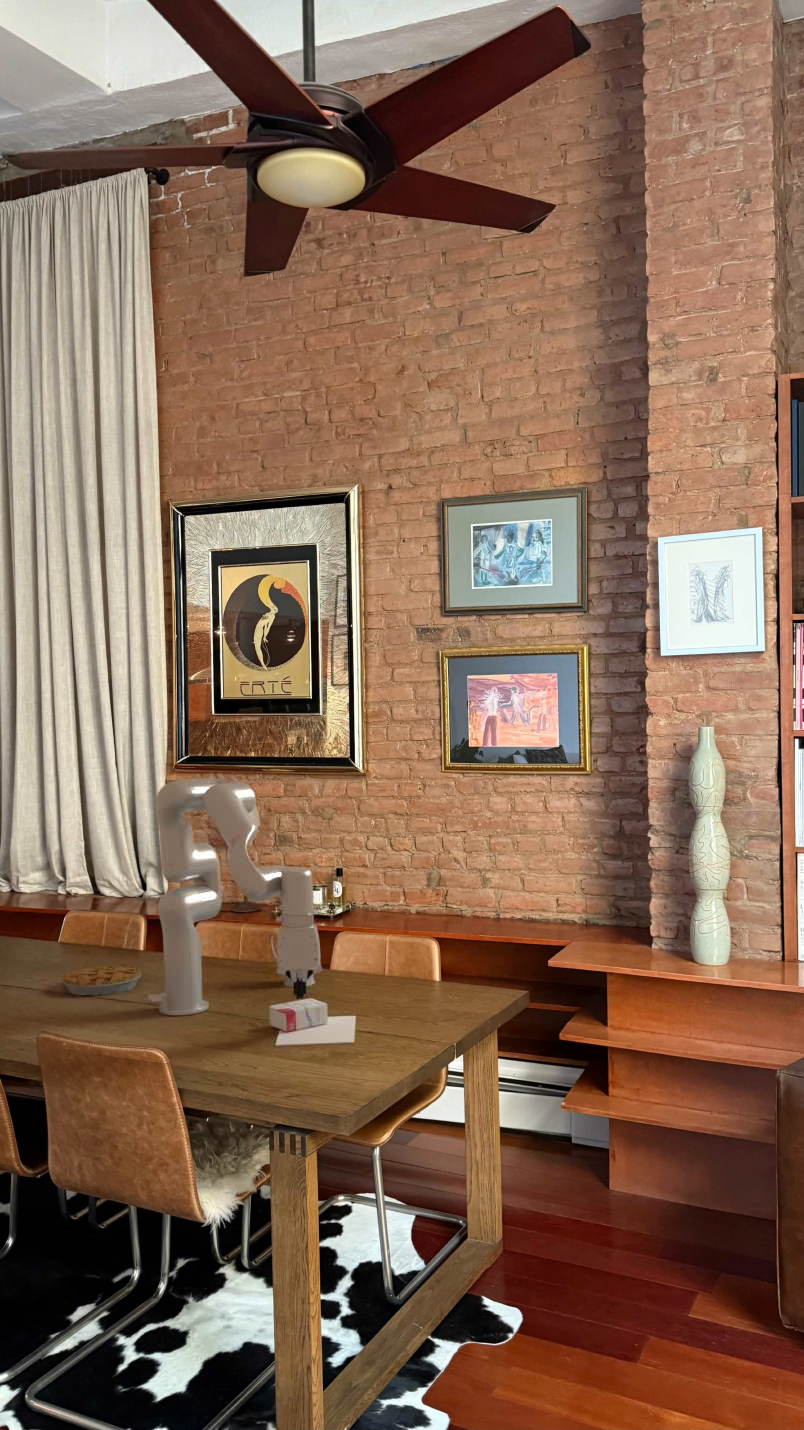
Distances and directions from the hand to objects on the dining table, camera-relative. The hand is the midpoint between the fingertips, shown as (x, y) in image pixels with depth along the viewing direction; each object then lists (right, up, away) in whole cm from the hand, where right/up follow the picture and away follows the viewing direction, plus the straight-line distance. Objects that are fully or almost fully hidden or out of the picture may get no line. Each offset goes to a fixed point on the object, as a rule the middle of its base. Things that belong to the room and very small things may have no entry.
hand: (300, 997), depth 261 cm
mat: (+4, -8, 0) cm, 9 cm away
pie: (-61, -11, +50) cm, 80 cm away
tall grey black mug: (-7, -9, +50) cm, 51 cm away
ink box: (-6, -5, +1) cm, 8 cm away
